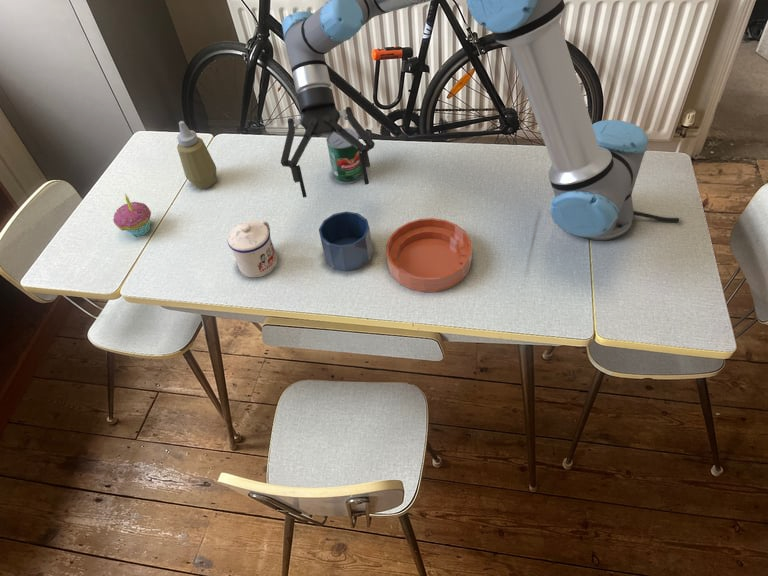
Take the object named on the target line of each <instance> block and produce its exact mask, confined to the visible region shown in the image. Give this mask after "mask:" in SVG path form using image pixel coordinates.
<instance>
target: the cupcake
mask: <svg viewBox="0 0 768 576" xmlns="http://www.w3.org/2000/svg"><path fill="white" fill-rule="evenodd" d="M124 199H125V201H126V203H125V204H122V205H121V206H119V207H118V208H117V209H116V211H115V212H114V216H113V219H112V220H113V224H114V225H115V226H116V227H117V228H118V229H119V230H121V231H126V232H128V234H130V235H131V236H132V237H142V236H145V235H146V234H147V233H148V232H149V231H150V229H151V224H150V223H151V221H150V220H151V216H152V212H151V210H150V208H149V207H148V205H147V204H145V203H144V202H139V201H131V200H130V199H129V196H128V195H127V193H125V194H124Z"/></svg>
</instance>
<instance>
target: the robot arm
mask: <svg viewBox="0 0 768 576" xmlns="http://www.w3.org/2000/svg"><path fill="white" fill-rule="evenodd" d="M431 1H433V0H328V1H326V2H325V3H323V5H322V6H321V7H320V8H318V9H317V10H316V11H314V12H311V11H309V10H307V11H305V10H301V11H295V12H293V13H292V14H288V15H286V16H285V17H284V18H283V20H282V23H281V27H282V33H283V42H284V45H285V49H286V53H287V57H288V62H289V66H290V71H291V75H292V80H293V84H294V89H295V93H296V94H297V95H296V96H297V97H296V98H297V102H298V106H299V111H300V115H301V116H300V118H292V117H289V118H288V119H287V127H288V130H287V133H286V134H287V135H286V138H285V142H284V145H283V146H284V147H283V151H282V154H281V158H280V164H281V166H282V167H286V168H287V167H288V168H290V170H291V175H292V179H293V182H294V183H299V186H300V190H301V195H302V198H307V191H306V187H305V184H304V179H303V173H302V169H301V165H300V164H298V163H299V161H300V160H301V158H302V156H303V154H304V152H305V150H306V148H307V147H308V144H309V142H310V141H311V139H312V137H316V138H320V137H322V136H328V135H330V134H331V133H333V132H335V133H337V134H338V135H340V136H341V137H342V138H344V139H345V140H346V141H347V142H349V143H350V144H351V145H353V146H354V147H355V148H356V149H358V150H359V151H360V152H361V153H359V155H358V156H359V160H360V165H361V170H362V174H363V176H362V178H363V183H364V185H365V186H367V185H369V183H370V181H369V176H368V172H367V168H368V169H369V168H371V162H370V161H371V160H370V158H369V152H370V151H371V150H373V149H374V147H375V145H376V144H375V142H374V140H373V139H372V138H371V136H370V135H369V133H368V132H367V131H366V130H365V129H364V127H363V126H362V125H361V124H360V122H359V121H358V120H357V118H356V117H355V116H354V113H353V109H352V108H351V107H350V106H346V108H345V109H342V110H338V108H337V107H336V106H337V105H336V102H335V96H334V93H333V89H332V88H331V86H332V82H331V79H330V74H329V70H328V66H327V62H326V54H327V53H329V52H330V51H332V50H333V49H335V48H336V47H338V46H340V45H341V44H343V43H345V42H347V41H349V40H351V38H352V37H354V36H355V35H356V34H357V33H358V32H360V31H361V29H362V27H364V25H366V24H367V23H368V22H369V21H371V19H374V18H375V17H377V16H381V15H384V14H388V13H391V12H395V11H399V10H402V9H403V10H404V9H406V8H409V7H413V6H414V7H415V6H417V5H421V4H425V3H428V2H431ZM466 5H467V9H468V10H469V12H470V14H471V16H472V18H473V19H474V20H475V22H476V23H477V24H478V25H479V26H483V27H485V30H487V31H489V32H492V35H493V37H494V39H495V42H496V43H498V44H502V45H504V46H507V48H508V49H509V52H510V55H511V58H512V60H513V63H514V65H515V69H516V71H517V73H518V76H519V79H520V81H521V84H522V86H523V87H522V88H523V89H524V92H525V94H526V98H527V101H528V102H529V105H530V109H531V111H532V113H533V116H534V118H535V121H536V124H537V126H538V129H539V132H540V134H541V137H542V140H543V142H544V145H545V148H546V150H547V153H548V156H549V159H550V162H551V166H550V168H549V169H548V172H547V177H548V180H549V183H550V186H551V188H552V191H553V194H554V198H553V199H552V200H551V203H550V209H549V212H550V216H551V219H552V221H553V222H554V224H556V225H557V226H558V227H559V228H560V229H561V230H563V231H564V232H567V233H569V234H571V235H573V236H577V237H582V238H584V239H588V240H592V241H610V240H615V239H617V238H620V237H622V236H624V235H625V234H626V233H628V231H629V230H630V228H631V227H632V223H633V220H634V216H637V217H644V218H648V219H652V220H656V221H662V222H670V223H671V222H674V223H675V222H676V223H679V222H680V217H665V216H660V215H659V216H658V215H655V214H651V213H646V212H641V211H637V210H634V205H633V197H632V194H633V191H634V187H635V185H636V182H637V178H638V176H639V172H640V169H641V166H642V162H643V159H644V156H645V153H646V152H647V150H648V147H647V146H648V141H649V138H648V137H649V136H648V134H647V133H646V131H645V130H644V129H643V128H641V127H640V126H639V125H636V124H634V123H631V122H628V121H625V120H621V119H605V120H599V121H597V122H595V123H593V122H592V119H591V116H590V113H589V110H588V107H587V104H586V101H585V97H584V94H583V91H582V88H581V85H580V82H579V79H578V75H577V72H576V70H575V66H574V63H573V61H572V56H571V54H570V50H569V48H568V43H567V41H566V38H565V35H564V32H563V29H562V26H561V19H562V17H563V15H564V12H565V11H566V4H565V0H466ZM341 118H342V119H344V120H345V121H347V122H348V123H349V125H350V126H351V127H352V129H353V130H354V131H356V132H357V133H358V136H359V138H360V139H361V140H362V141H363V142H364V144H363V143H362V142H361V141H360V140H359V141H358V140H357V139H356V138H355V137H353V136H352V135H351V134H350V133H348V132H347V131H346V130H345V128H343V126H342V125H341V124H340V123H339V120H340V119H341ZM300 125H301V127H303V128H304V129H305V131H304V134H303V136H302V138H301V141H300V142H299V144H298V146H297V147H296V150H295V152H294V154H293V156H292V157H291V159H290V155H291V150H292V147H293V143H294V137H295V134H296V131H297V130H298V129H299V126H300Z"/></svg>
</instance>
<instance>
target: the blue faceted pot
mask: <svg viewBox="0 0 768 576" xmlns="http://www.w3.org/2000/svg"><path fill="white" fill-rule="evenodd" d="M368 221H369V220H368V219H367V218H366V217H364V216H363V215H362V214H360V213H359V212H352V211H347V210H346V211H341V212H337V213H333V214H332V215H330V216H328V217H327V218H325V219H324V220H323V221H322V222H321V224H320V226H319V228H318V233H319V237H320V243H321V246H322V247H321V248H322V251H323V254H324V259H325V264H326V265H327V266H328V267H330V268H332V269H333V270H335V271H336V270H337V271H341V272H350V271H355V270H359V269H361V268H363V267H364V266H365V265H367V264H368V263H369V262H370V261H371V258H372V256H373V254H374V250H373V243H372V236H371V228H370V225H369V222H368Z"/></svg>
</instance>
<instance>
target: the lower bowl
mask: <svg viewBox="0 0 768 576" xmlns="http://www.w3.org/2000/svg"><path fill="white" fill-rule="evenodd" d="M385 251H386V263H387V269H388V271H389V274H390V275H391V277H392V278H393V279H394V280H395V281H396V282H397V283H398V284H399V285H401V286H403V287H405V288H407V289H409V290H411V291H416V292H420V293H421V292H422V293H435V292H441V291H445V290H448V289H452V288H453V287H454V286H457V284H459V283H461V282H462V281H463V280H464V279H465V277H466V276H467V275H468V274H469V273H470V269H471V265H472V263H473V262H472V261H473V260H472V259H473V258H472V257H473V246H472V240H471V238H470V237H469V236H468V233H467V232H466V230H464V229H463V228H462V227H460V225H458V224H456V223H454V222H451V221H450V220H449V221H448V220H446V219H441V218H435V217H431V218H419V219H416V220H412V221H409V222H407V223H404V224H403V225H402V226H399V227H398V228H396V230H395V231H394V232H393V233H392V234H391V235H390V236H389V238H388V241H387V243H386V249H385Z"/></svg>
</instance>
